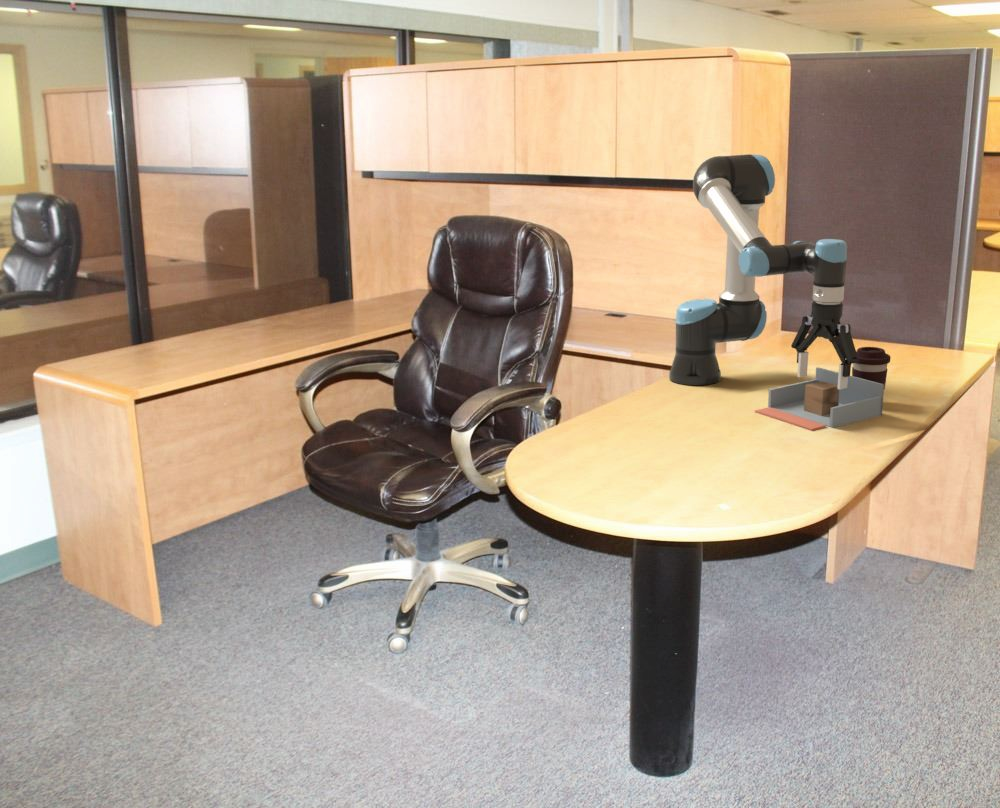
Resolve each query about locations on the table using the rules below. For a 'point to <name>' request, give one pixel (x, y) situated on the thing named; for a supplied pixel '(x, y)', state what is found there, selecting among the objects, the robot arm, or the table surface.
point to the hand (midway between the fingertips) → (821, 382)
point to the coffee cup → (871, 364)
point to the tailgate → (790, 419)
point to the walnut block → (821, 398)
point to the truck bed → (853, 401)
